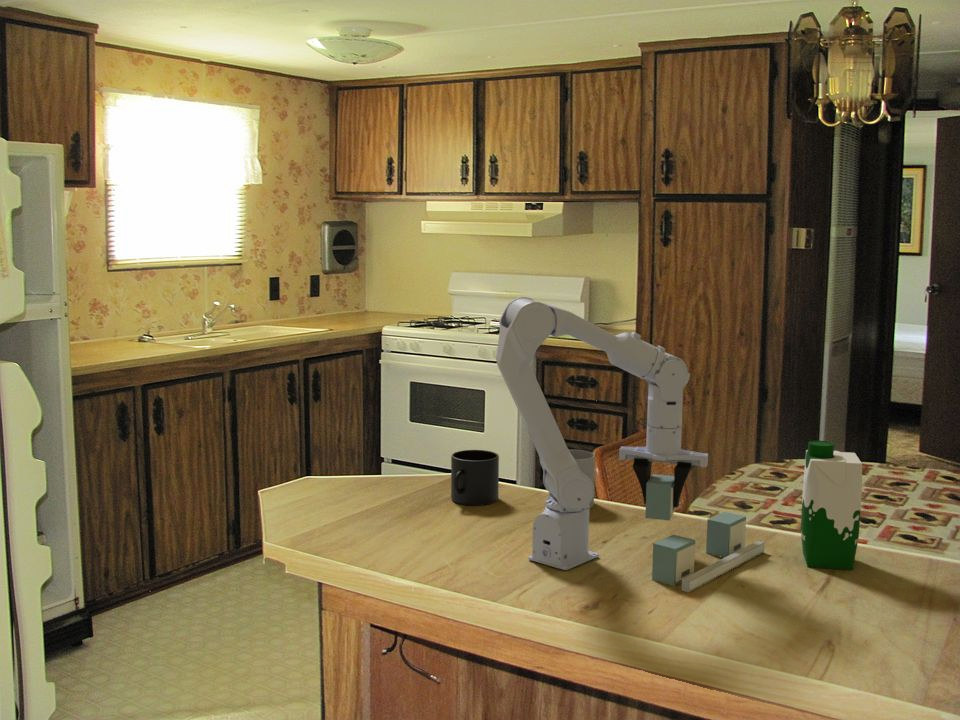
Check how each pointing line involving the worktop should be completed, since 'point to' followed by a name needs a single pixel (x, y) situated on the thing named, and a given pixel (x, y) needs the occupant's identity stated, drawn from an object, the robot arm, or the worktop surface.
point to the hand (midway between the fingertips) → (661, 504)
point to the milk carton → (830, 506)
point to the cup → (585, 465)
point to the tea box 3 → (725, 534)
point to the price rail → (722, 566)
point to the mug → (474, 477)
